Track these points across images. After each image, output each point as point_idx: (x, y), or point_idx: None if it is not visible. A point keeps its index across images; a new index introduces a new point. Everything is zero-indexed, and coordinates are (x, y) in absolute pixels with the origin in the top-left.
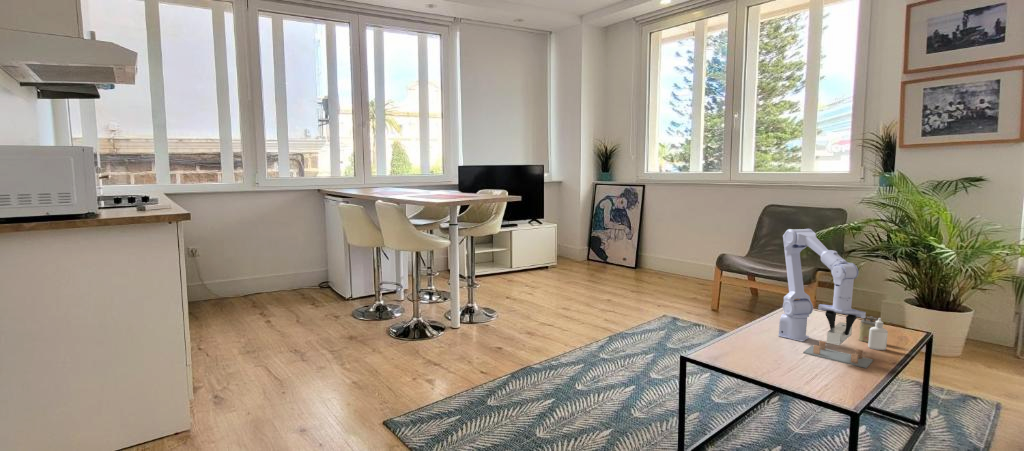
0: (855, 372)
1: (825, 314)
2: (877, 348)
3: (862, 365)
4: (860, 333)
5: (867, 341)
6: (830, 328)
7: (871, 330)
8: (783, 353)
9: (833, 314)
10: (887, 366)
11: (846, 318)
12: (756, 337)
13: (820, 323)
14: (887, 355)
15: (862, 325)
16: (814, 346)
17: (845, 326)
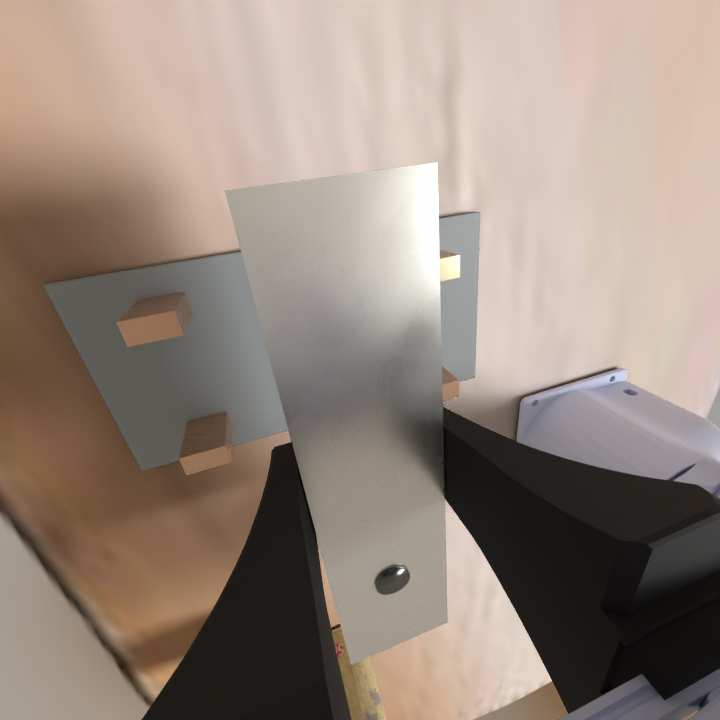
0: (5, 80)
1: (718, 498)
2: None
3: (86, 295)
4: (362, 661)
5: None
6: (456, 414)
7: None
8: (566, 75)
9: (603, 612)
10: (19, 457)
11: (310, 670)
12: (704, 254)
13: (514, 625)
14: (166, 594)
15: (370, 717)
16: (450, 254)
17: (365, 577)
